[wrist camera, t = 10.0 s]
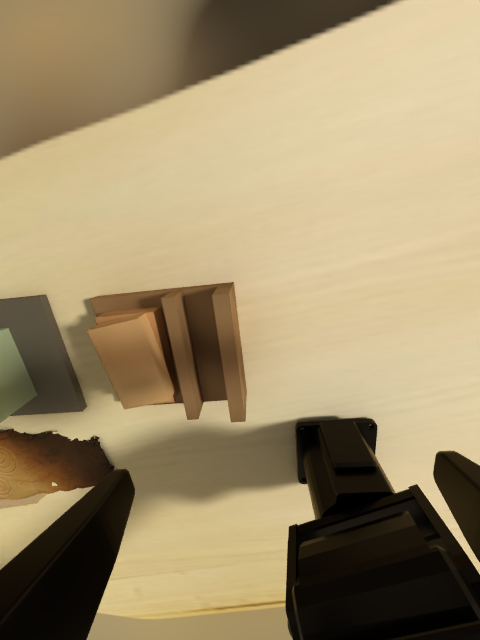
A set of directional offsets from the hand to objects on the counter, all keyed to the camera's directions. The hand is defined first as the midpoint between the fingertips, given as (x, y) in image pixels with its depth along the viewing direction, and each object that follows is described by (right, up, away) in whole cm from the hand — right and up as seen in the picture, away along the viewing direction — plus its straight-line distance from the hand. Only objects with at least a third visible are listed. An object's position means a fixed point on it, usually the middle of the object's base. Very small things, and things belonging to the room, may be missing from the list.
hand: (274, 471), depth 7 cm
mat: (-19, +1, +13) cm, 23 cm away
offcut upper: (-8, +2, +10) cm, 13 cm away
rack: (-6, +2, +12) cm, 14 cm away
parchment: (-25, -11, +18) cm, 33 cm away
